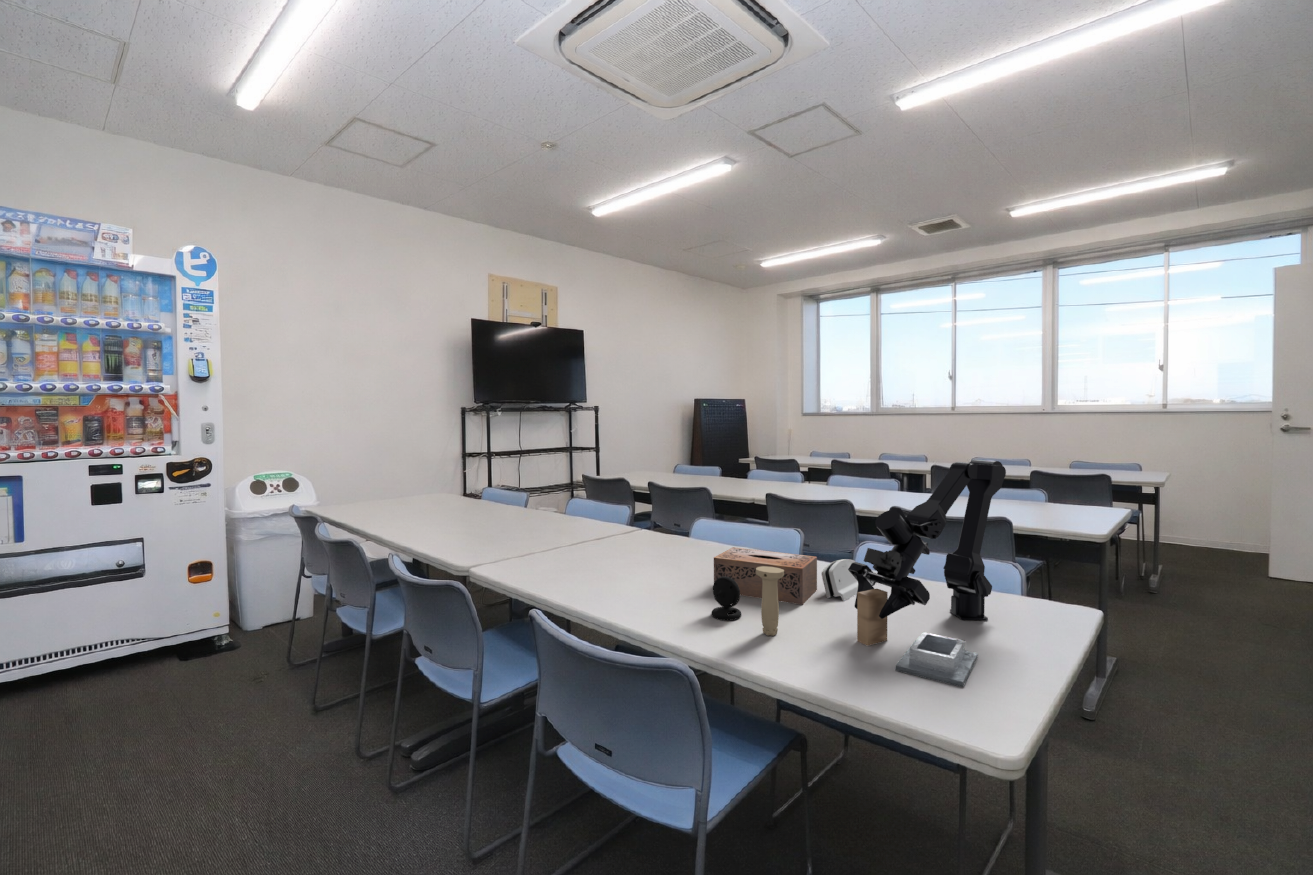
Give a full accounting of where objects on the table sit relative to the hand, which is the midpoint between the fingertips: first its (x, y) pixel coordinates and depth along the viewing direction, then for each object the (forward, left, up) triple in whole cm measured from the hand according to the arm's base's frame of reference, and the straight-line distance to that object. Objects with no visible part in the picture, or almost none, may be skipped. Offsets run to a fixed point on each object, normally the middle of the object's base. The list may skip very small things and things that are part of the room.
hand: (867, 612), depth 129 cm
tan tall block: (-1, -1, -7) cm, 7 cm away
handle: (+21, -5, -7) cm, 22 cm away
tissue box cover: (+17, -38, -7) cm, 42 cm away
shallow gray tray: (-10, +11, -7) cm, 17 cm away
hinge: (-5, -37, -7) cm, 38 cm away
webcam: (+30, -17, -7) cm, 35 cm away
